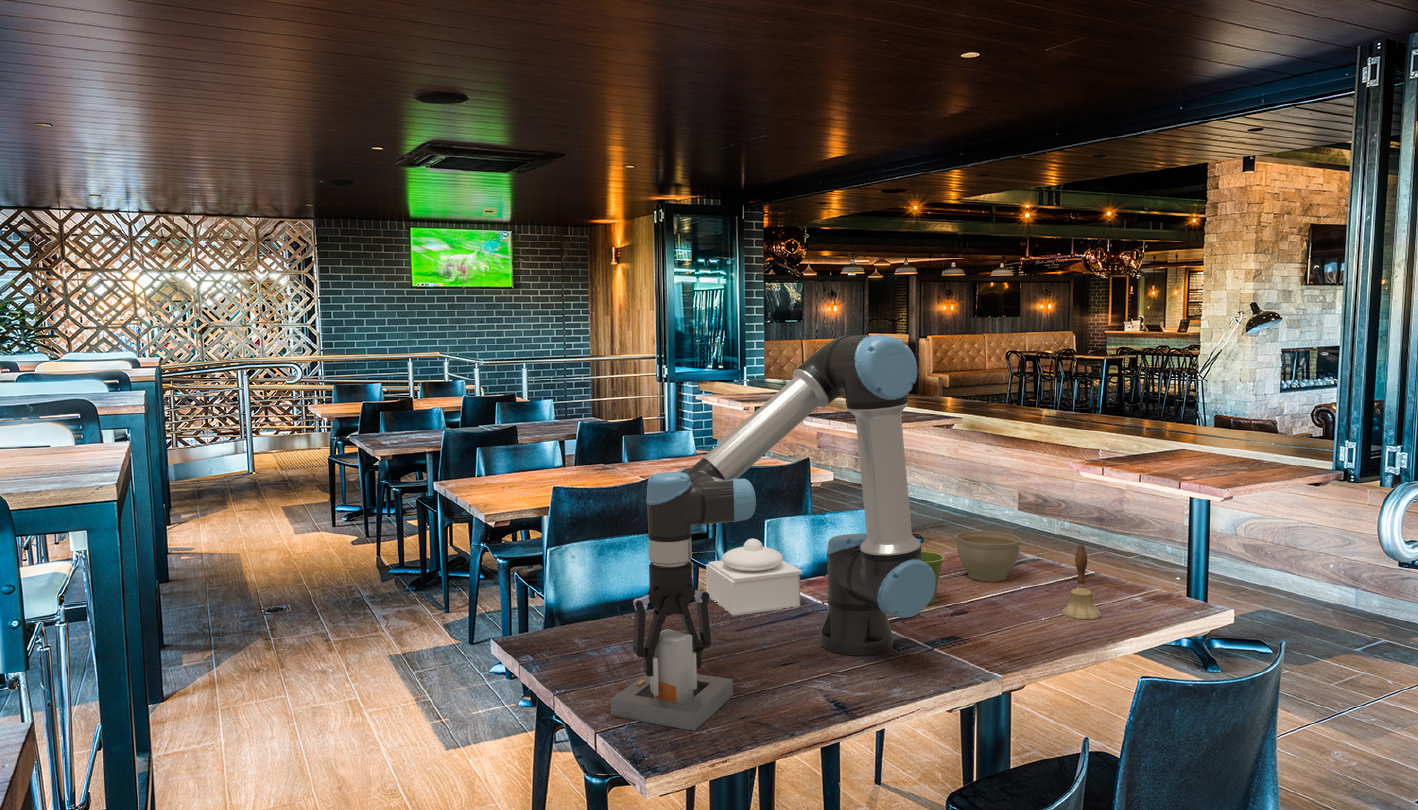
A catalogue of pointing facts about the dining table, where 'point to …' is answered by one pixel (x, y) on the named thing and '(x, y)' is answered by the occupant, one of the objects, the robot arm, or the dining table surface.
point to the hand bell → (1081, 592)
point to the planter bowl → (987, 554)
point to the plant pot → (933, 567)
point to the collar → (672, 703)
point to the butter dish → (753, 580)
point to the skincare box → (674, 666)
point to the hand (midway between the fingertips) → (673, 689)
